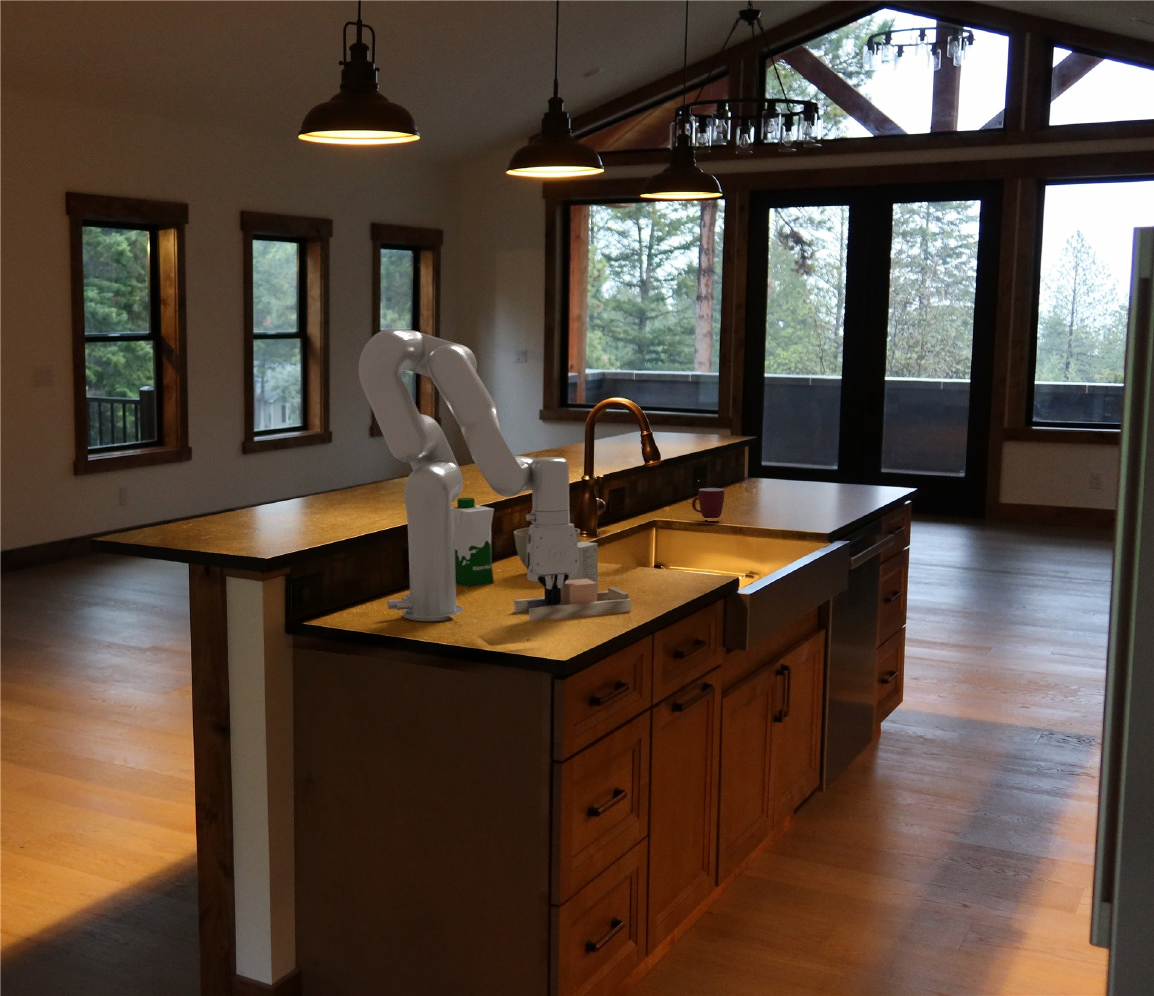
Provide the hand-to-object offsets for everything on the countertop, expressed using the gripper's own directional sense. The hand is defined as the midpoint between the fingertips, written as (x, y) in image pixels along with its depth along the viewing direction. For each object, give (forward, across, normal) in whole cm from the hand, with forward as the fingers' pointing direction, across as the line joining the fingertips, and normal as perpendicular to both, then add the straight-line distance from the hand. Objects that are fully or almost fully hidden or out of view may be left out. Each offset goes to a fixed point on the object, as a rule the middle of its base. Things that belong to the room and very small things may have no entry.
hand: (552, 606), depth 249 cm
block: (+1, +6, 0) cm, 6 cm away
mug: (+3, +94, +107) cm, 142 cm away
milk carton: (+3, -4, +42) cm, 42 cm away
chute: (+3, +4, 0) cm, 5 cm away
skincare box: (+3, +13, +16) cm, 21 cm away
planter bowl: (+3, +16, +45) cm, 48 cm away
